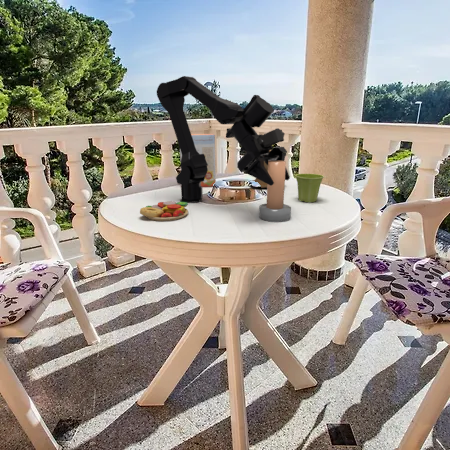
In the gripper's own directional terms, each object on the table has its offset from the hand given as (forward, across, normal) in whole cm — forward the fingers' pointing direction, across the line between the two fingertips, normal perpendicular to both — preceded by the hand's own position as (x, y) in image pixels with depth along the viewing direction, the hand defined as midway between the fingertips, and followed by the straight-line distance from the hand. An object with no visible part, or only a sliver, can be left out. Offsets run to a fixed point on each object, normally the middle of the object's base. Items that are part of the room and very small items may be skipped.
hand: (280, 182), depth 91 cm
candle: (+4, 0, +6) cm, 8 cm away
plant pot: (+6, +24, +9) cm, 27 cm away
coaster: (+6, 0, +8) cm, 11 cm away
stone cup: (-9, +35, +24) cm, 43 cm away
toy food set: (-12, -17, +28) cm, 35 cm away
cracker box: (-26, +20, +42) cm, 53 cm away
